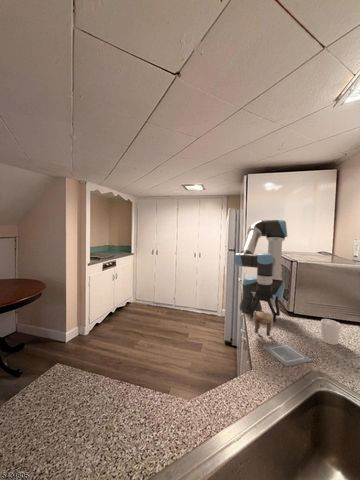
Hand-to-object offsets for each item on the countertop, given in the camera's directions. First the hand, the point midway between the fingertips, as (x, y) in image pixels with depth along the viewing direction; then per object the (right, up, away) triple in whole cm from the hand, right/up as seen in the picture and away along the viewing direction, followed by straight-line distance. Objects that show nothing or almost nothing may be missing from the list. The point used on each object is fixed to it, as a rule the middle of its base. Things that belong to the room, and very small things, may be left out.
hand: (263, 325), depth 107 cm
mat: (+4, -6, -16) cm, 17 cm away
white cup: (+32, -7, -4) cm, 33 cm away
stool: (0, -3, 0) cm, 3 cm away
